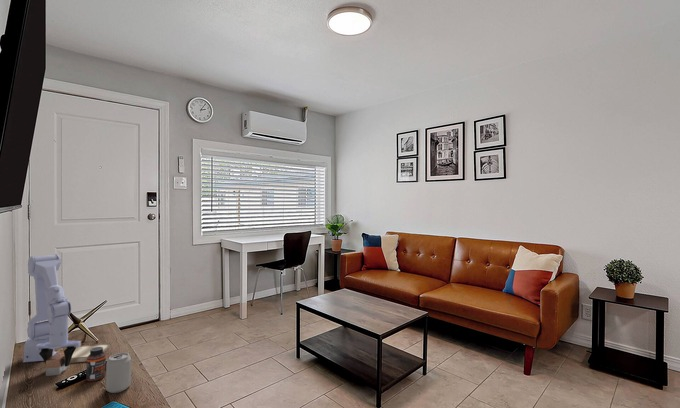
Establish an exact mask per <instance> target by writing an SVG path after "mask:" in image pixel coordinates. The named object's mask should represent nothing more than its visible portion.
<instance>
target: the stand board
mask: <svg viewBox="0 0 680 408" xmlns="http://www.w3.org/2000/svg"><path fill="white" fill-rule="evenodd" d="M95 347H103V352H104V353H106V351H107V350H108V349H109V348H111V344H110V343H96V344H87V345H85V344H84V345H81V346H80V347H77V348H76V349H75V351H74V353H73V355H72V358H71V361H70V364H72V363H82V362H84V363H85V362H86V363H87V357H88V356H89V355H90V350H91V349H92V348H95Z"/></svg>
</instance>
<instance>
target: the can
mask: <svg viewBox="0 0 680 408" xmlns="http://www.w3.org/2000/svg"><path fill="white" fill-rule="evenodd" d="M105 369H106V370H105V390H106V391H107V392H109V393H111V394H117V393H121V392H123V391H125V390H127V389H128V388H129V387H130V386H131V384H132V381H131V380H132V379H131V378H132V377H131V376H132V375H131V373H132V372H131V371H132V358H131V356H130V354H129V352H118V353H115V354H112V355H110V356H109V358H108V360H106V364H105Z"/></svg>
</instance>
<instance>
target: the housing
mask: <svg viewBox="0 0 680 408" xmlns="http://www.w3.org/2000/svg"><path fill="white" fill-rule="evenodd" d="M70 366H71V363H70V364H69V365H68V366H66V367H65V355H64V350H63V351H59V352H57V353H55V354H54V355H53V356H51V357H50V358H49V359H48V360H46V364H45V376H46V377H47V376H49V377H50V376H58V375H61V374H62V373H63V372H64V371H66V370H67V369H68V368H69V367H70Z"/></svg>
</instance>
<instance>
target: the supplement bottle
mask: <svg viewBox="0 0 680 408" xmlns="http://www.w3.org/2000/svg"><path fill="white" fill-rule="evenodd" d="M106 357H107V355H106V352H103V347H95V348H92V349H91V350H90V355H89V356H88V357H87V361H86V377H85V378H86V381H87V382H96V381H100V380H101V379H104V377H106V363H107V360H106V359H107V358H106Z"/></svg>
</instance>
